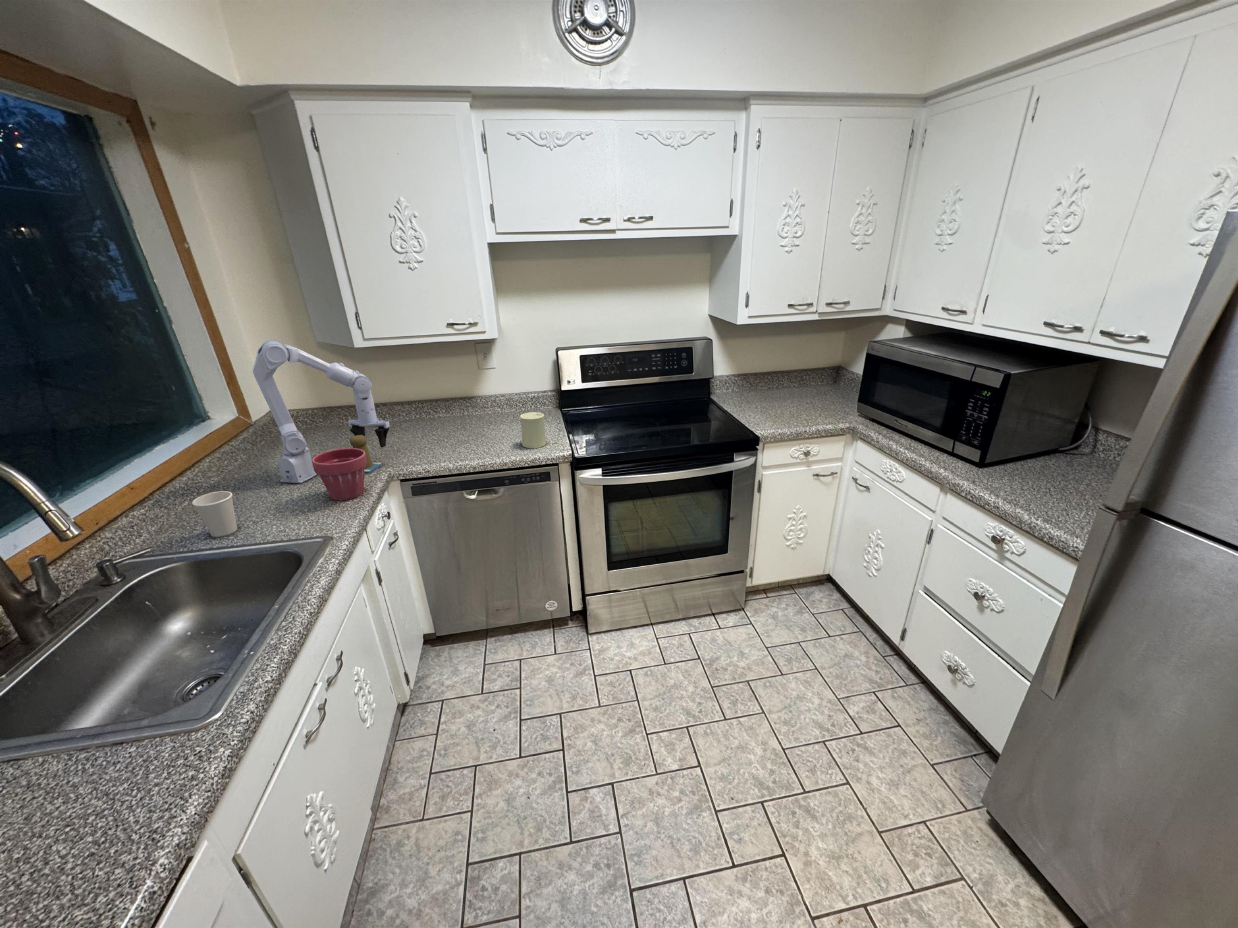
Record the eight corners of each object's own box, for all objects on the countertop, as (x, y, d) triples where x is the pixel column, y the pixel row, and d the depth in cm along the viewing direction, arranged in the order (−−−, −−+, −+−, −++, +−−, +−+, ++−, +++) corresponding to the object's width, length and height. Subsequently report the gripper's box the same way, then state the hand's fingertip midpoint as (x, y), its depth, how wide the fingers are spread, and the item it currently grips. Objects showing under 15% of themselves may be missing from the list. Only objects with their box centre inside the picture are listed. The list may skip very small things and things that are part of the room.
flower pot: (376, 482, 163) (369, 445, 158) (368, 500, 150) (360, 461, 146) (328, 487, 160) (318, 449, 155) (315, 506, 147) (305, 466, 142)
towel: (369, 473, 170) (368, 471, 170) (345, 471, 171) (344, 470, 171) (382, 464, 177) (382, 462, 177) (359, 463, 179) (359, 461, 178)
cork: (365, 470, 171) (359, 439, 167) (350, 469, 172) (343, 438, 168) (377, 463, 176) (371, 433, 172) (362, 462, 177) (355, 432, 173)
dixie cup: (237, 520, 140) (226, 488, 136) (247, 530, 135) (236, 496, 131) (200, 532, 134) (188, 498, 130) (209, 542, 129) (196, 508, 125)
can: (548, 446, 193) (546, 416, 188) (524, 449, 190) (522, 419, 185) (543, 438, 201) (541, 409, 196) (520, 441, 198) (517, 412, 193)
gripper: (391, 406, 176) (398, 443, 181) (354, 405, 178) (362, 441, 183) (379, 412, 169) (387, 450, 175) (340, 410, 172) (349, 448, 177)
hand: (373, 446), depth 179 cm, fingers open, 7 cm apart
